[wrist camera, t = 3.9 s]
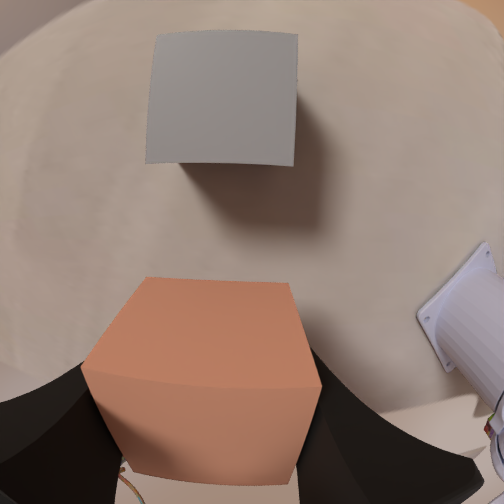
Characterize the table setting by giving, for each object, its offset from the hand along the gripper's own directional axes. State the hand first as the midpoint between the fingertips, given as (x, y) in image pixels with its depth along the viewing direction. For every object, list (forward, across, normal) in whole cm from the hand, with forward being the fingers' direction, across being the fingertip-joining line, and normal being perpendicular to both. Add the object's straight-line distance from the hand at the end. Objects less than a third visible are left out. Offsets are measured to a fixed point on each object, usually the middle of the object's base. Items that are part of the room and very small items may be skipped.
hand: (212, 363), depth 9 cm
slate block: (+7, 0, -9) cm, 11 cm away
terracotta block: (+2, 0, 0) cm, 2 cm away
